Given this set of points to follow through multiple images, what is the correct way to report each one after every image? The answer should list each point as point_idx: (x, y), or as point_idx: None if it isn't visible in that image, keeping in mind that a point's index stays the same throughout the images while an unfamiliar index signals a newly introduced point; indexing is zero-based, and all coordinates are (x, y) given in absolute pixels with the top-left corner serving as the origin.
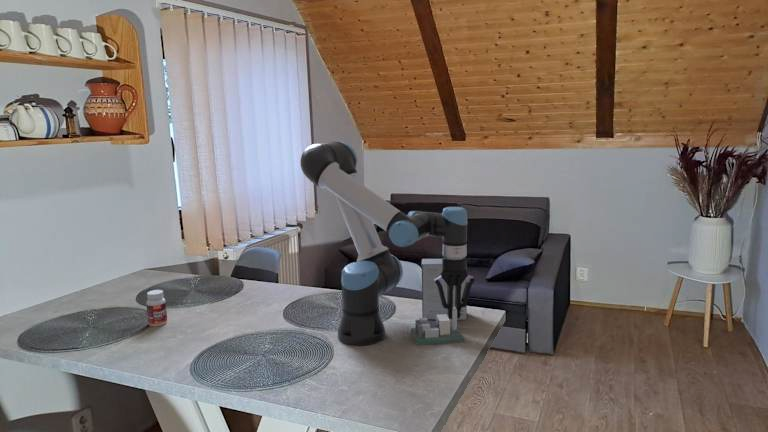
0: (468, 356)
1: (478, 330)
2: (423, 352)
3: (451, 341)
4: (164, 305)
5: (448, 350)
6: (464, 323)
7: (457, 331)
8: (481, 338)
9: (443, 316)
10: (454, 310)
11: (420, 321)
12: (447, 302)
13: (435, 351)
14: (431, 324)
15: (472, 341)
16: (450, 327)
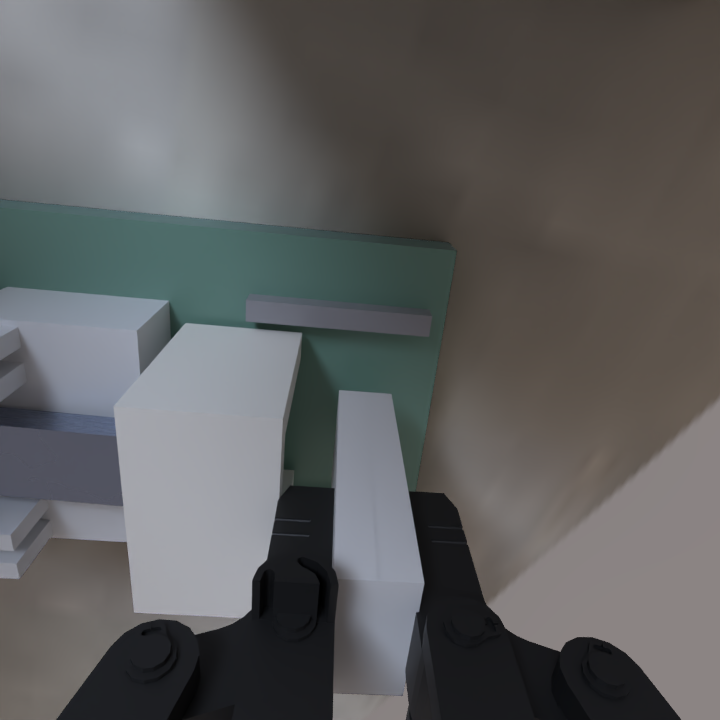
0: (340, 704)
1: (646, 341)
2: (33, 616)
3: None
4: None
5: (230, 621)
6: (615, 106)
7: (400, 415)
8: (570, 499)
9: (213, 492)
10: (353, 691)
11: None
12: (235, 713)
13: (128, 618)
14: (55, 497)
15: (469, 532)
16: (357, 325)
